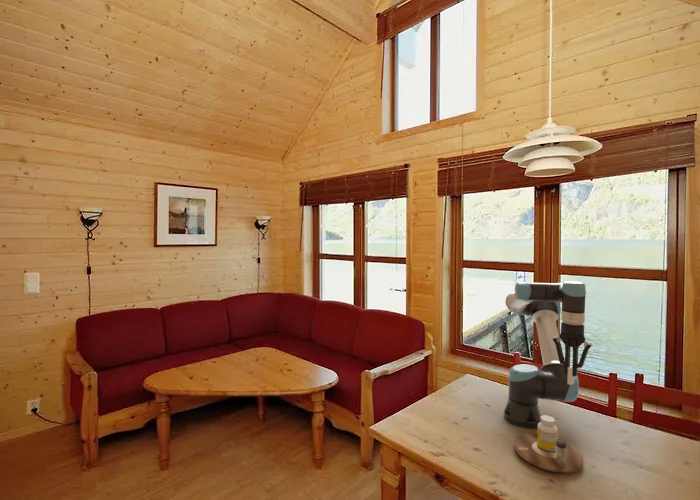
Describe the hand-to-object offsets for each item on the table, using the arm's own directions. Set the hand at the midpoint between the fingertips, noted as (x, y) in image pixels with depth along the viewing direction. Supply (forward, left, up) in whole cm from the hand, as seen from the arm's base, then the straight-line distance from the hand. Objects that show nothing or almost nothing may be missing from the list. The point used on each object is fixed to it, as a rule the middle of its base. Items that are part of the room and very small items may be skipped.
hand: (570, 383), depth 138 cm
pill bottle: (-4, -14, -22) cm, 26 cm away
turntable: (-4, -14, -23) cm, 27 cm away
